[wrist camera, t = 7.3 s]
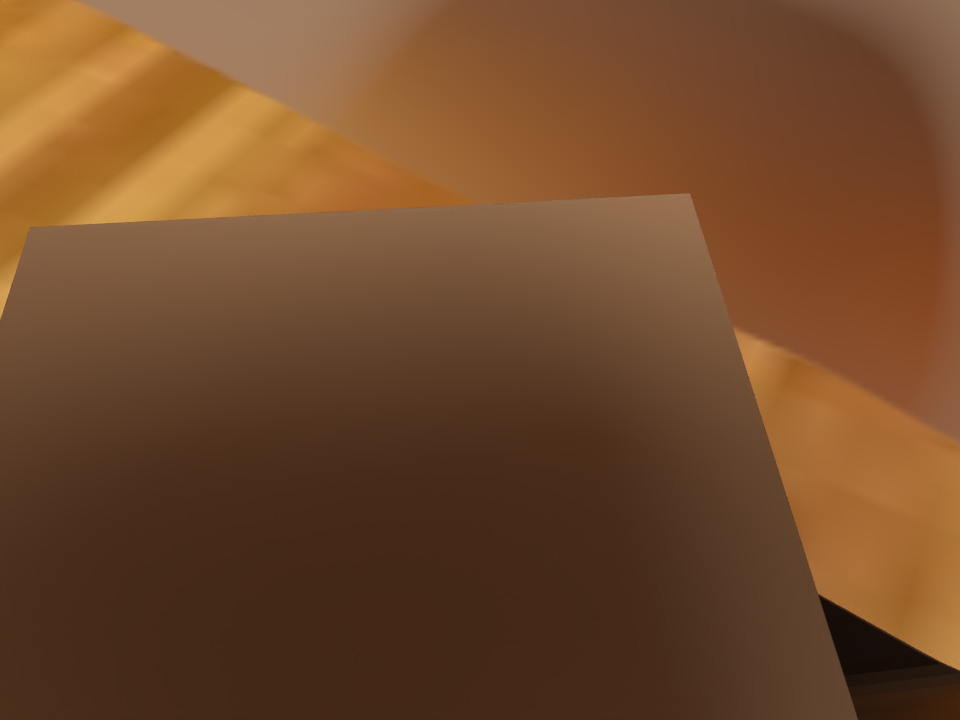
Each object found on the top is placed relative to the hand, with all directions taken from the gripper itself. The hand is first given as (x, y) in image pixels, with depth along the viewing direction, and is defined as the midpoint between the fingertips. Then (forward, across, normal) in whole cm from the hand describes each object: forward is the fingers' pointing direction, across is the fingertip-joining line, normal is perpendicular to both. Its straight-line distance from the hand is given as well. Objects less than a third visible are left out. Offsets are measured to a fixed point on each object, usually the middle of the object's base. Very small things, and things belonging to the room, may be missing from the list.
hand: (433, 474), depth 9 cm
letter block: (+4, 0, +6) cm, 7 cm away
